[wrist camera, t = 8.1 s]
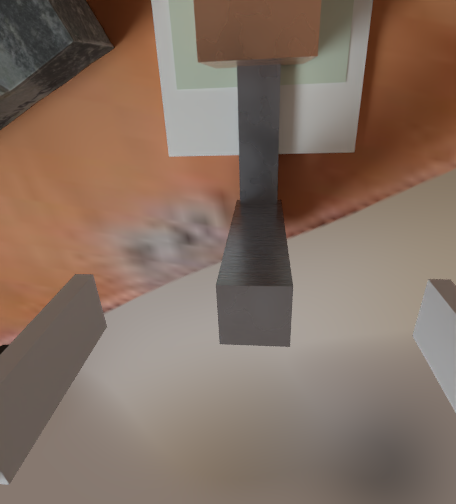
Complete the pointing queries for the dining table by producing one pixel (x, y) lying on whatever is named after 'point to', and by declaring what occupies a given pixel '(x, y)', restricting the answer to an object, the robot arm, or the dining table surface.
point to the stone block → (44, 49)
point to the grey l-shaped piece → (256, 157)
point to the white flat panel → (291, 85)
